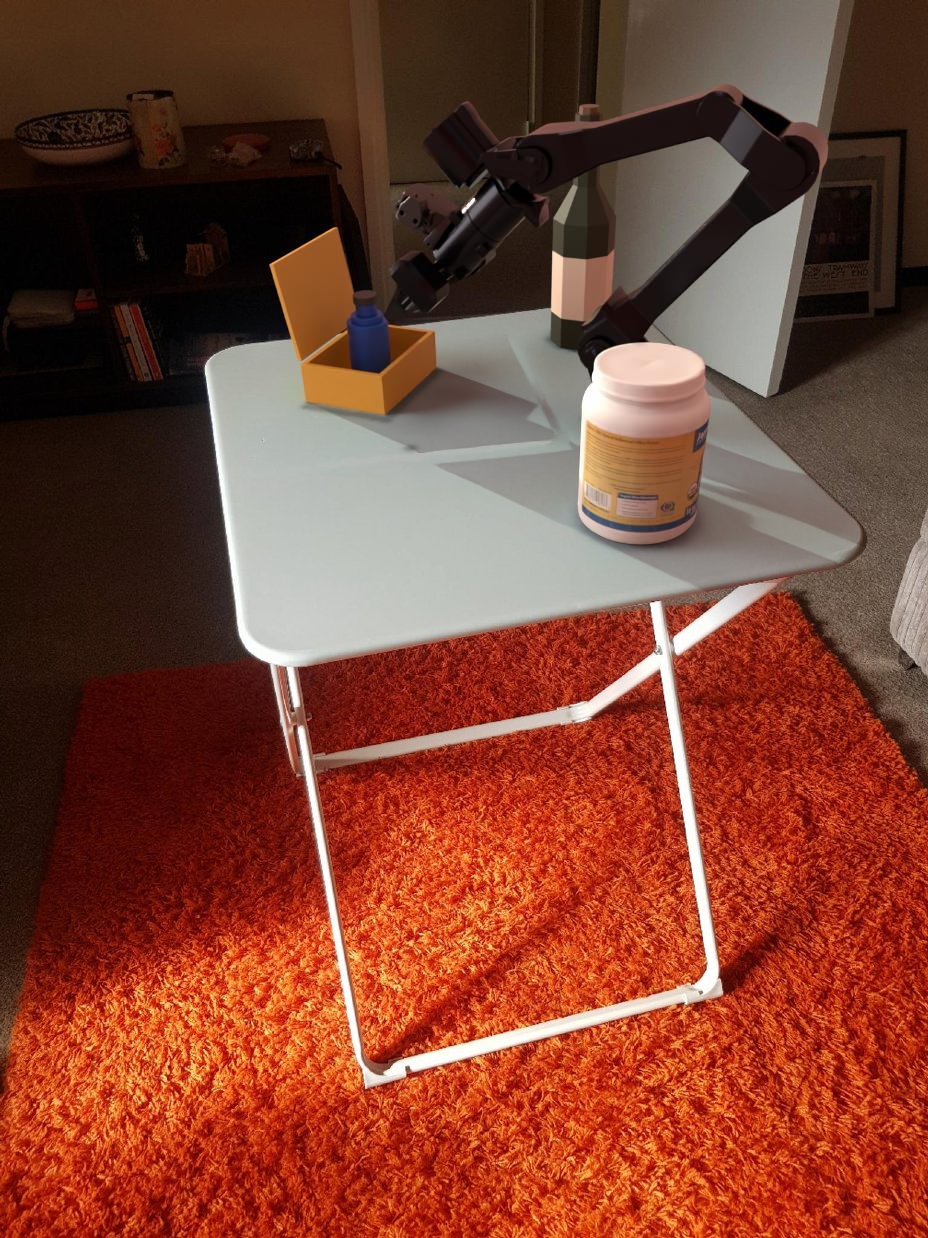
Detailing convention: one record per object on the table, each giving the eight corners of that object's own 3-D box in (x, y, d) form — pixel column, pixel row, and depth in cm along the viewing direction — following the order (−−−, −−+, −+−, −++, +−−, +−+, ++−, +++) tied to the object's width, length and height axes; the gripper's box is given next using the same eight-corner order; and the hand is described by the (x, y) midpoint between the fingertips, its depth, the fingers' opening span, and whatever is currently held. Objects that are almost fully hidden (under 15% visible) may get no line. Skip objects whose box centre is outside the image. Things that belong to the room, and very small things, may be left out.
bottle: (390, 373, 130) (383, 285, 123) (394, 389, 126) (387, 299, 119) (352, 377, 130) (342, 288, 123) (354, 393, 126) (344, 303, 118)
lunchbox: (437, 371, 132) (434, 330, 129) (385, 419, 121) (381, 376, 118) (362, 360, 136) (358, 320, 132) (306, 406, 125) (300, 363, 121)
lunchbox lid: (337, 226, 126) (313, 229, 127) (273, 263, 114) (247, 266, 116) (360, 317, 132) (336, 319, 134) (301, 361, 121) (276, 362, 123)
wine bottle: (611, 349, 136) (627, 111, 118) (552, 350, 136) (558, 113, 118) (605, 327, 143) (619, 98, 124) (548, 328, 143) (553, 100, 125)
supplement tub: (712, 543, 97) (736, 384, 87) (592, 555, 96) (602, 396, 86) (674, 482, 107) (691, 332, 96) (565, 493, 105) (570, 343, 95)
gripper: (470, 143, 114) (393, 231, 125) (399, 182, 101) (319, 278, 111) (532, 218, 116) (451, 299, 127) (471, 267, 103) (386, 353, 113)
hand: (403, 305), depth 120 cm, fingers open, 9 cm apart
